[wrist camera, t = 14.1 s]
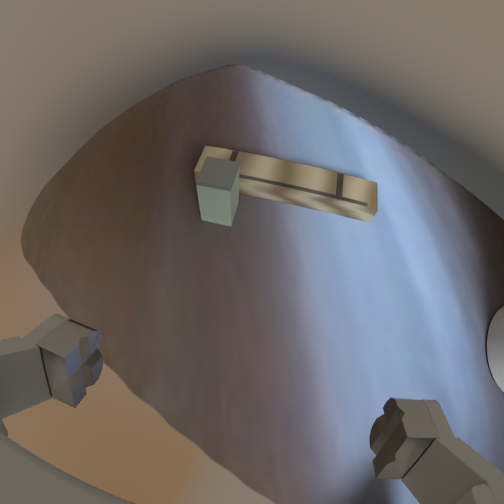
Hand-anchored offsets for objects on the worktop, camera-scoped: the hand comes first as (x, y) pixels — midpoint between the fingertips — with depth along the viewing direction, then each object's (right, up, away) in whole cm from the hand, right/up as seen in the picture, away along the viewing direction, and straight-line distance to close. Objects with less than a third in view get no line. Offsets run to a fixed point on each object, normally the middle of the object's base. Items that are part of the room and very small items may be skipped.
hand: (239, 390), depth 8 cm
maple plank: (+5, +13, +37) cm, 40 cm away
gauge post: (-4, +9, +35) cm, 37 cm away
